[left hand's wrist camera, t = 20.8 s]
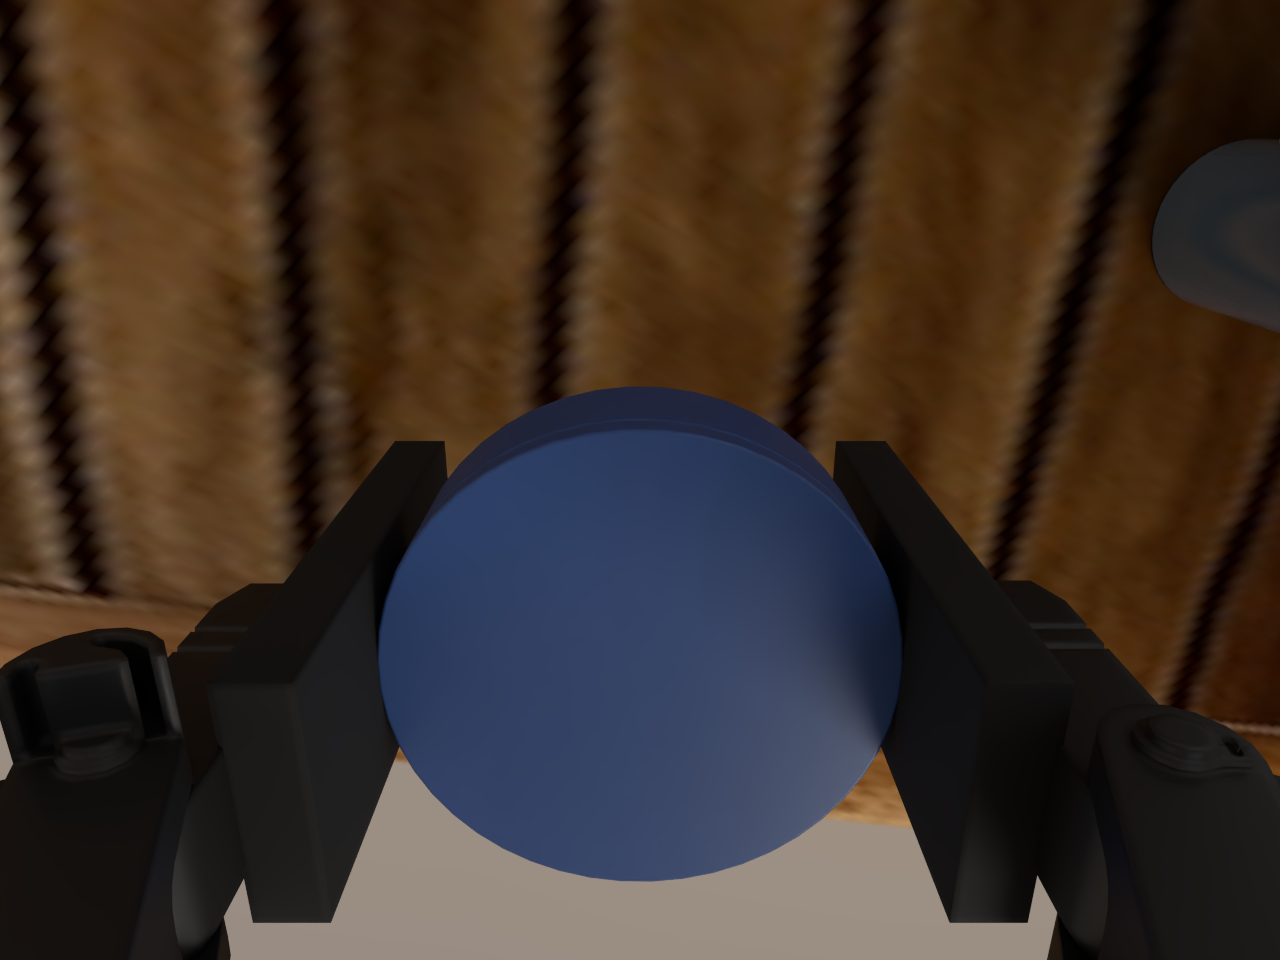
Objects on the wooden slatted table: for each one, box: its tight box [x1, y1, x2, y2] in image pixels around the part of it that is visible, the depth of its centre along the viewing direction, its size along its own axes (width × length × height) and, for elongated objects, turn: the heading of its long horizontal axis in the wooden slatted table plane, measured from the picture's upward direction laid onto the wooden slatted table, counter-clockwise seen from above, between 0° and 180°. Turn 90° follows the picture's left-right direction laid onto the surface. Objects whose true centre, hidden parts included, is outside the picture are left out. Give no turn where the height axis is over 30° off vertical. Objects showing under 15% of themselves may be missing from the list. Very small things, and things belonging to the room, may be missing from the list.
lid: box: [377, 387, 903, 881], centre depth 11 cm, size 6×6×2 cm
